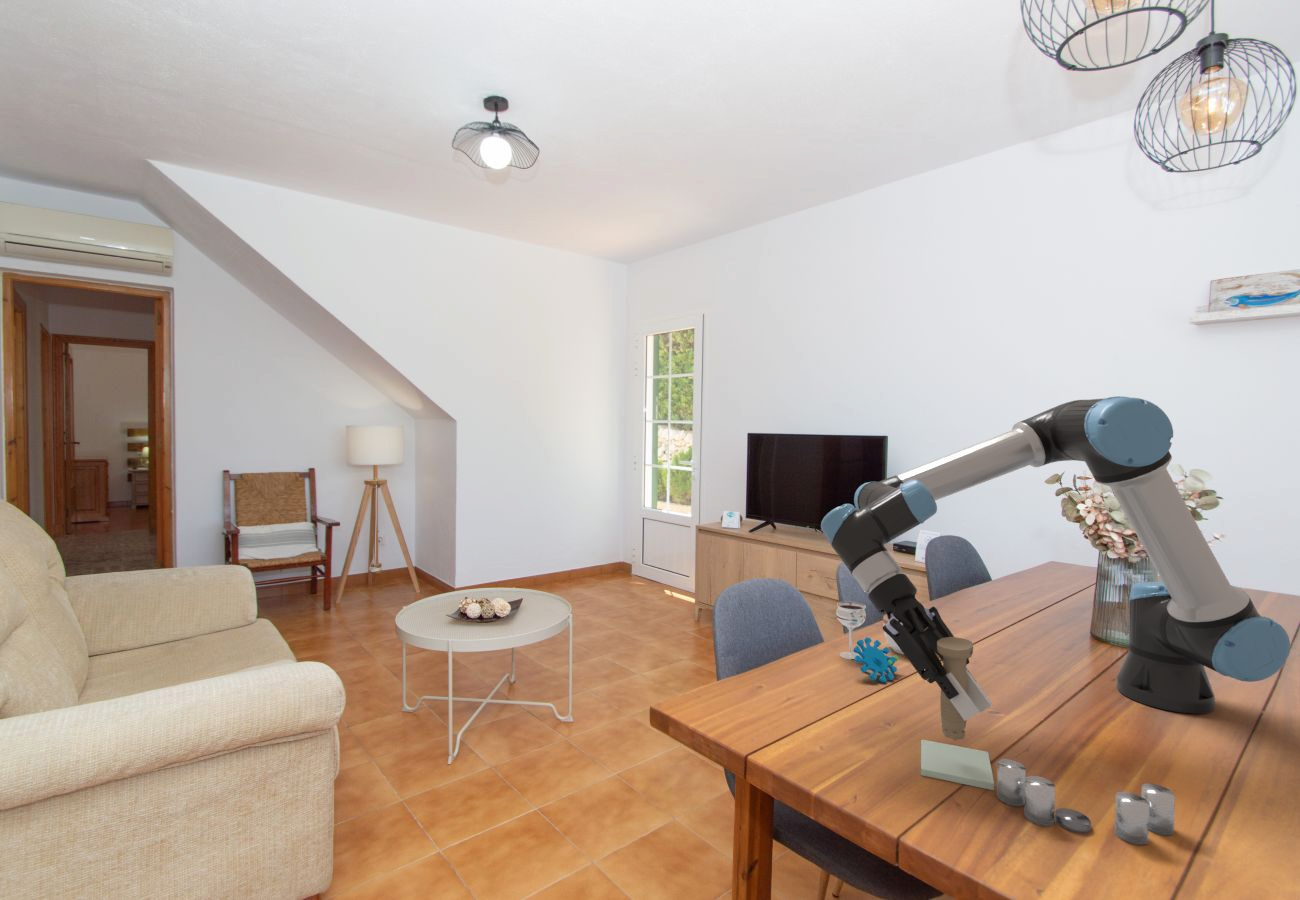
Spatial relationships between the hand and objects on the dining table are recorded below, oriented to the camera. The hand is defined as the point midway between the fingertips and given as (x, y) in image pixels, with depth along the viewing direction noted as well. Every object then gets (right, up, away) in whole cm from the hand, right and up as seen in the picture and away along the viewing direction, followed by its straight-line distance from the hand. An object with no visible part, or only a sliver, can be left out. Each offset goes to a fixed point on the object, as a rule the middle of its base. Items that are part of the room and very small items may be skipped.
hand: (979, 712), depth 96 cm
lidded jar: (+11, -8, +55) cm, 57 cm away
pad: (-2, -10, +3) cm, 11 cm away
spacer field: (+9, -11, -10) cm, 17 cm away
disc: (+7, -11, -11) cm, 17 cm away
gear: (-1, -9, +39) cm, 40 cm away
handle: (-2, -5, +3) cm, 7 cm away
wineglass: (-3, -8, +51) cm, 52 cm away
